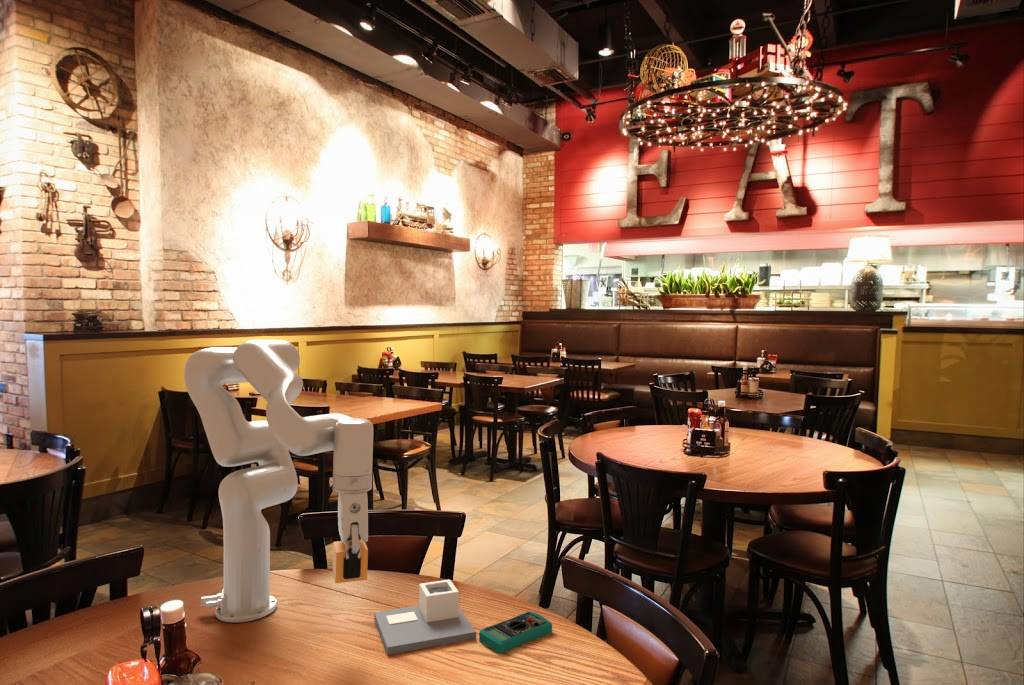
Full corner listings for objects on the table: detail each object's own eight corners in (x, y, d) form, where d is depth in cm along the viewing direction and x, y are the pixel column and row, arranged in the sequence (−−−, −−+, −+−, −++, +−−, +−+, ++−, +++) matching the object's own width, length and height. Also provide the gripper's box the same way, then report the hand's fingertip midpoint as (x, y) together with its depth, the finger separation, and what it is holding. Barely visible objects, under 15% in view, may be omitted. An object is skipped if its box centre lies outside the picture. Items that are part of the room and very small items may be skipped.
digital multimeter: (554, 633, 129) (555, 620, 129) (500, 657, 119) (500, 642, 119) (531, 621, 135) (531, 608, 135) (477, 642, 125) (477, 628, 125)
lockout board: (387, 655, 119) (387, 619, 119) (374, 619, 134) (374, 587, 134) (475, 639, 126) (476, 605, 125) (454, 606, 140) (454, 576, 140)
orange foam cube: (335, 583, 119) (336, 552, 118) (332, 571, 124) (333, 542, 124) (367, 579, 121) (368, 549, 121) (362, 568, 126) (363, 539, 126)
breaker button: (431, 615, 131) (431, 597, 131) (426, 607, 135) (426, 589, 135) (451, 612, 133) (451, 594, 133) (445, 604, 137) (445, 586, 137)
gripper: (378, 491, 115) (375, 586, 116) (365, 470, 131) (362, 553, 132) (337, 494, 113) (334, 591, 113) (329, 472, 129) (326, 557, 129)
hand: (349, 570), depth 122 cm, fingers closed on orange foam cube, 6 cm apart
